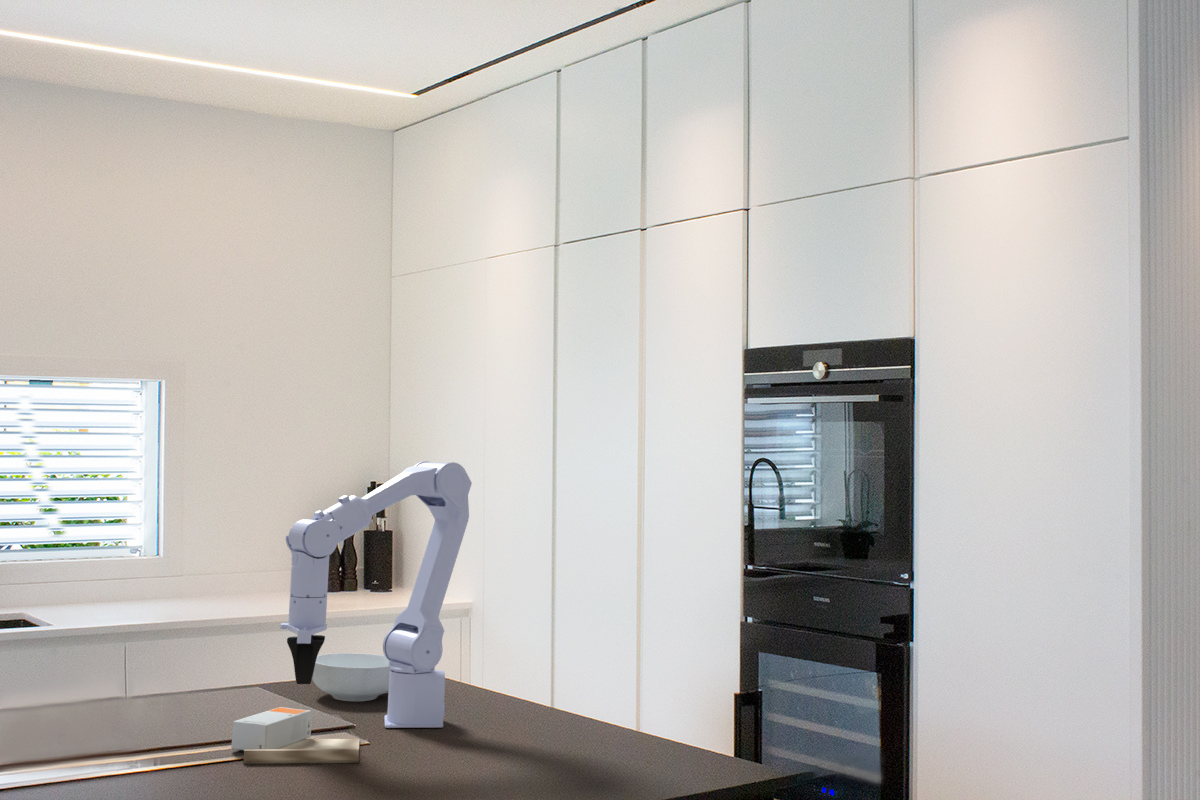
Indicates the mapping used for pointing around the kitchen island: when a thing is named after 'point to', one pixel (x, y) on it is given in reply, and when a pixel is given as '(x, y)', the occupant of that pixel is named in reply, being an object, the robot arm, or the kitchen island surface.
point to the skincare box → (271, 729)
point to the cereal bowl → (352, 675)
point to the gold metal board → (307, 752)
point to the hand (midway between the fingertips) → (303, 683)
